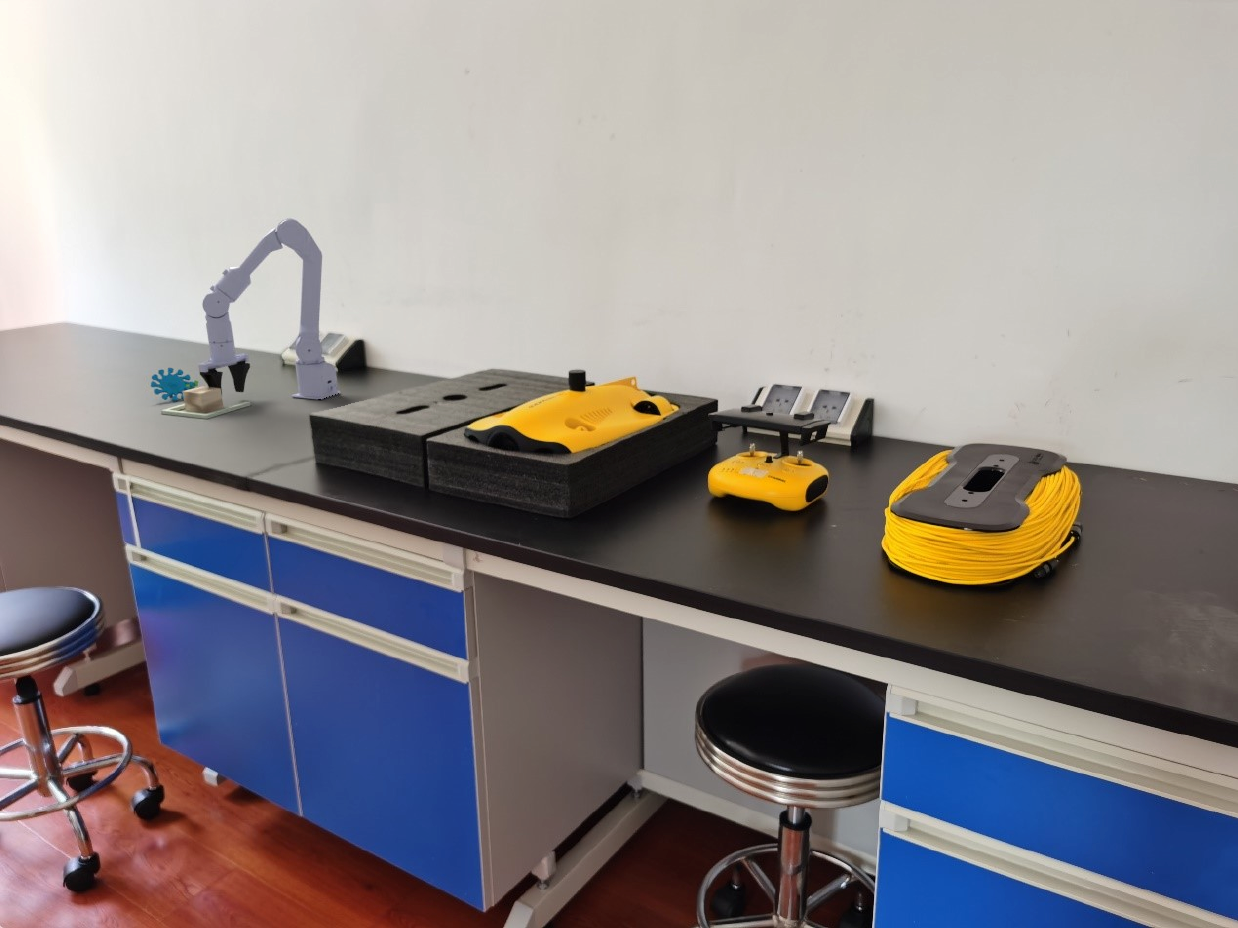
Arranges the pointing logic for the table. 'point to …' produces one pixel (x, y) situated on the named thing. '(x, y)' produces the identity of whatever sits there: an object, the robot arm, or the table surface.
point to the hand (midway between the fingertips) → (228, 395)
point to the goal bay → (199, 415)
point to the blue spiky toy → (172, 384)
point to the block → (203, 399)
